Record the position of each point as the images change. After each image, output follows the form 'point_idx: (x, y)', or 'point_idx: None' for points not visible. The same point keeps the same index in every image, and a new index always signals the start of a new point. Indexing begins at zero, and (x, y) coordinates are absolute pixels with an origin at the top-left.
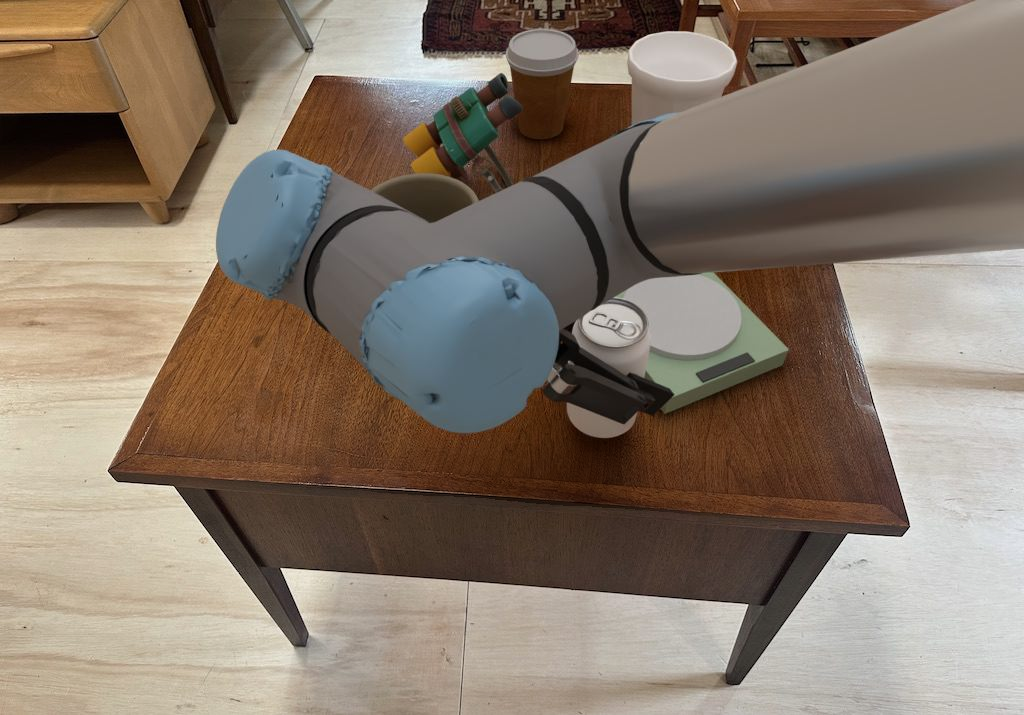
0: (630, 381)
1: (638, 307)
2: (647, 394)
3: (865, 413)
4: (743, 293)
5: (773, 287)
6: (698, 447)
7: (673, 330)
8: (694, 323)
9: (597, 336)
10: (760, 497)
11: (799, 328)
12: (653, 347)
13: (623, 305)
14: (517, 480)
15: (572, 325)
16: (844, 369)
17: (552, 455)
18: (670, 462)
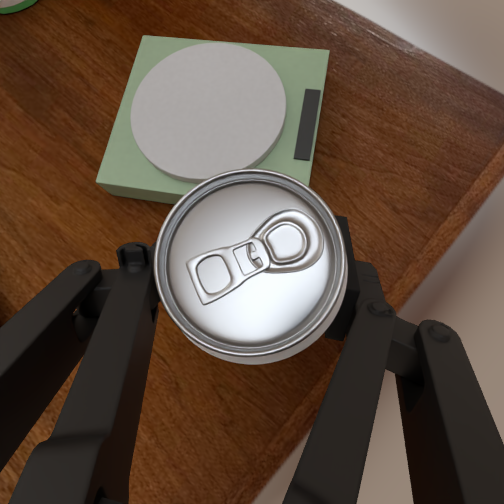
0: (377, 314)
1: (249, 171)
2: (364, 272)
3: (423, 52)
4: (220, 39)
5: (234, 10)
6: (361, 223)
7: (226, 135)
8: (234, 107)
9: (259, 321)
10: (452, 213)
11: (295, 27)
12: None
13: (215, 194)
14: (273, 445)
15: (156, 290)
16: (366, 30)
17: (269, 379)
18: None
